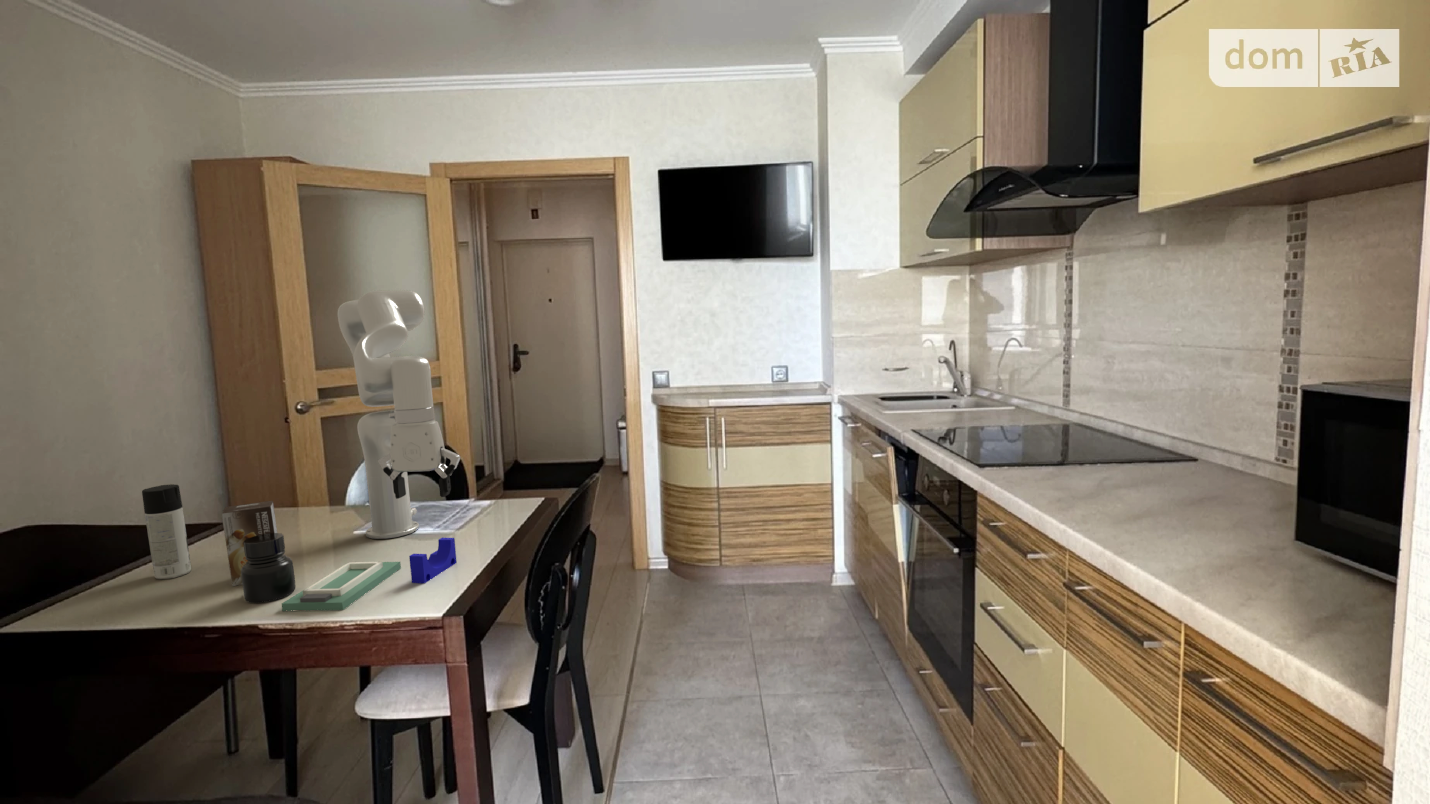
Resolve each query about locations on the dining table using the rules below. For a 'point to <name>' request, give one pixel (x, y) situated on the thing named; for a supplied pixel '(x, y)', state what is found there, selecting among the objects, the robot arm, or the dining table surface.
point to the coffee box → (245, 531)
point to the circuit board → (342, 586)
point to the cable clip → (433, 561)
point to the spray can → (166, 531)
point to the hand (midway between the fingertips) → (423, 496)
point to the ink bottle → (267, 569)
